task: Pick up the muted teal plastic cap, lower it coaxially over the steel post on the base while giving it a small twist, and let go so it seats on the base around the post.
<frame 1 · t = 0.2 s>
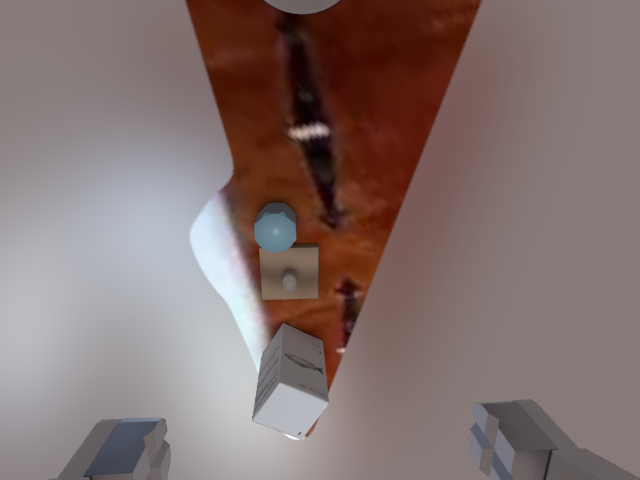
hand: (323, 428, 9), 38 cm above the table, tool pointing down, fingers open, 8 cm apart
teal cap: (277, 220, 47), on the table
post base: (289, 270, 50), on the table
supplement box: (291, 346, 55), on the table
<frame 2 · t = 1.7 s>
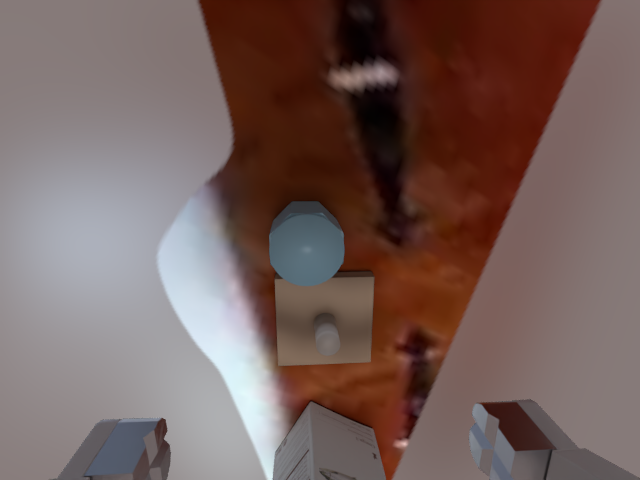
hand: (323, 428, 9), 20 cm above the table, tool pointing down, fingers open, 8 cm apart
teal cap: (305, 232, 28), on the table
post base: (323, 315, 30), on the table
supplement box: (323, 438, 34), on the table
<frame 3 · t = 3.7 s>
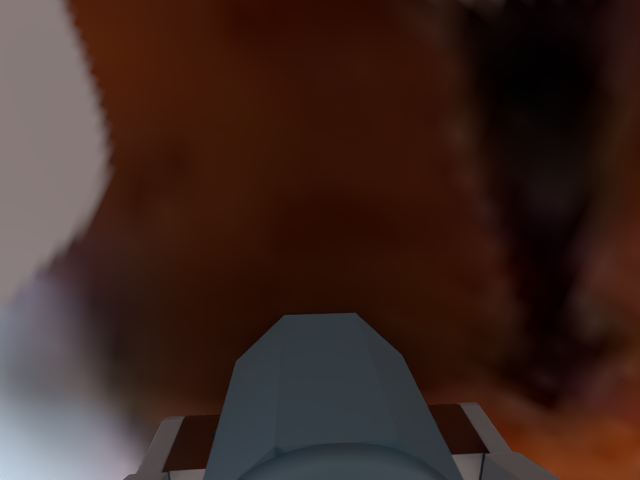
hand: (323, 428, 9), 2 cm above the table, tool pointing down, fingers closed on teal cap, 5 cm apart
teal cap: (320, 387, 11), on the table, touching gripper
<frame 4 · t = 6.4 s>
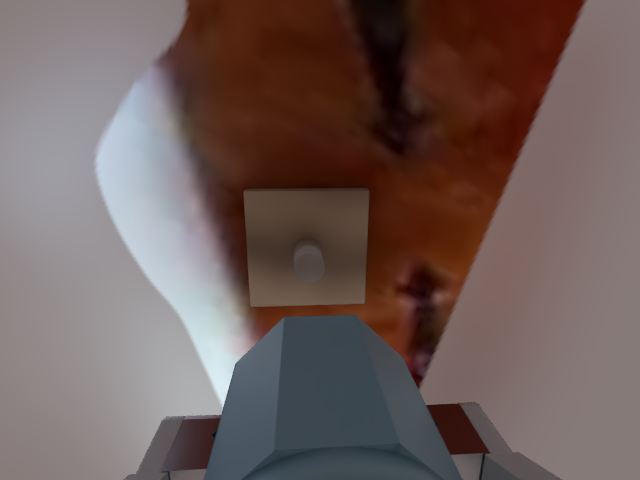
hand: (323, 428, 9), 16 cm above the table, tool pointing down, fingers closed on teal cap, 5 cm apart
teal cap: (320, 389, 11), point 14 cm above the table, touching gripper
post base: (307, 245, 24), on the table
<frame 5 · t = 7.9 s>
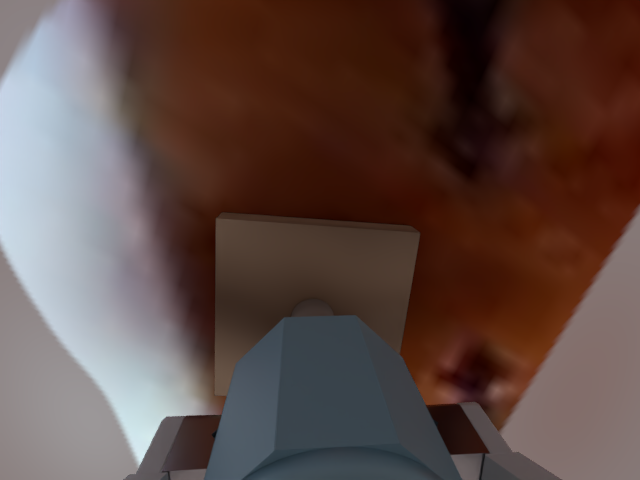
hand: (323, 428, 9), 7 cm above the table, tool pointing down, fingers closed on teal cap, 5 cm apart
teal cap: (320, 389, 11), point 5 cm above the table, touching gripper
post base: (311, 305, 16), on the table
when the fingers open (3 cm above the table, at t = 9.0 s): teal cap stays where it is, resting on post base.
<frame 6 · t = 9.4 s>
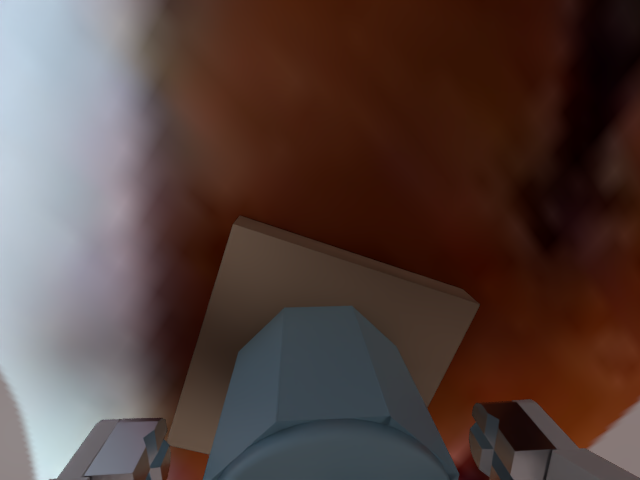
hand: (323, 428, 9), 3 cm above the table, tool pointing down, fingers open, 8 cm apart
teal cap: (318, 376, 11), point 1 cm above the table, touching post base
post base: (316, 354, 12), on the table
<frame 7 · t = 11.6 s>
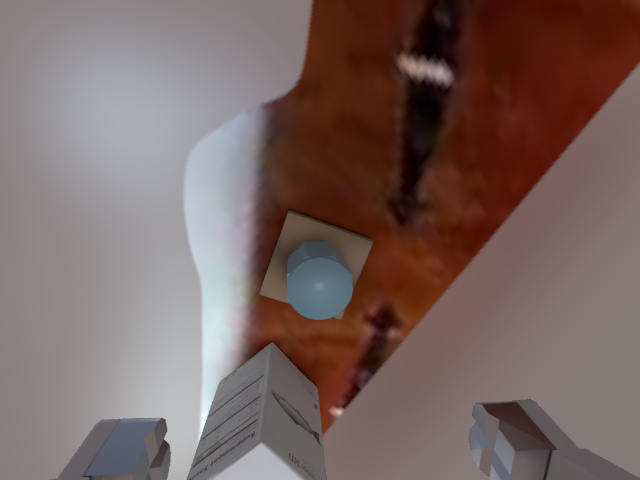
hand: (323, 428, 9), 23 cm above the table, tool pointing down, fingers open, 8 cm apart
teal cap: (315, 268, 31), point 1 cm above the table, touching post base
post base: (315, 264, 32), on the table
supplement box: (268, 382, 35), on the table
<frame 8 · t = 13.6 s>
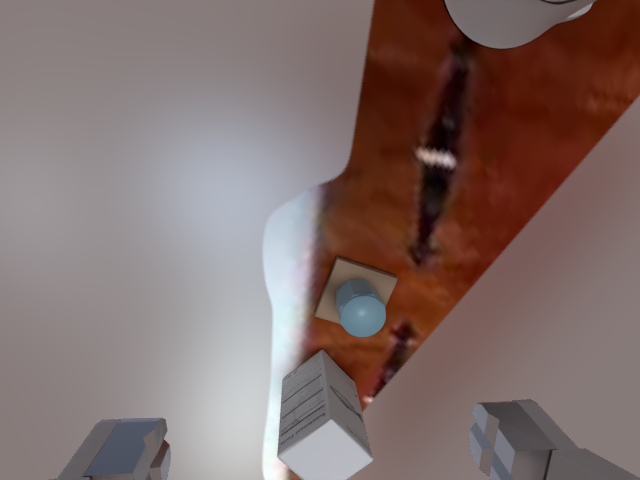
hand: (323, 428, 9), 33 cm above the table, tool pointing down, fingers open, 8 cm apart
teal cap: (356, 297, 43), point 1 cm above the table, touching post base
post base: (354, 293, 44), on the table
supplement box: (318, 378, 48), on the table
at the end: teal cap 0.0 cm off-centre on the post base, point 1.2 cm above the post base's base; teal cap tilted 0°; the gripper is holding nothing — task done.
